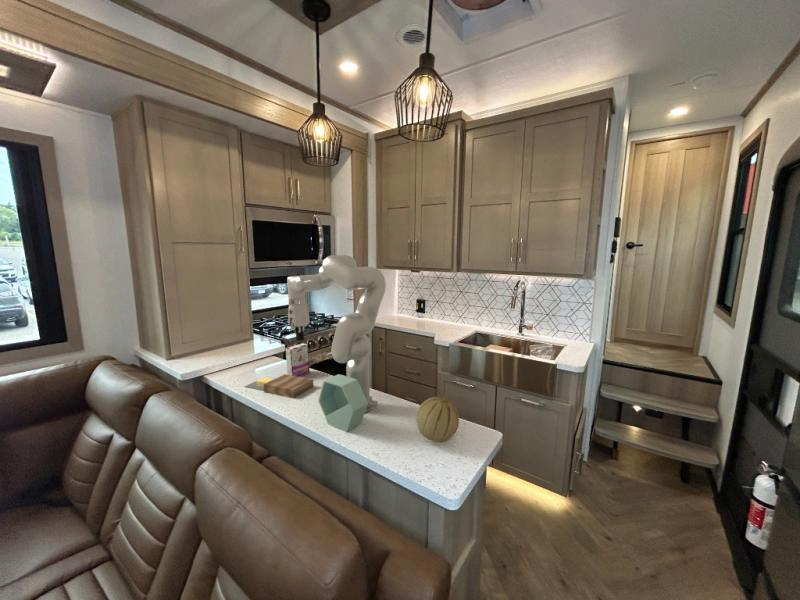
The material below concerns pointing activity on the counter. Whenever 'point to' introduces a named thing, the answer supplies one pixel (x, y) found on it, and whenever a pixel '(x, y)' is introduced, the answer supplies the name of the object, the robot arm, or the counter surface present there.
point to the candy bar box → (297, 360)
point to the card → (263, 381)
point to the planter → (342, 402)
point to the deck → (288, 386)
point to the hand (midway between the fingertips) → (300, 340)
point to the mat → (255, 386)
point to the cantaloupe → (437, 419)
